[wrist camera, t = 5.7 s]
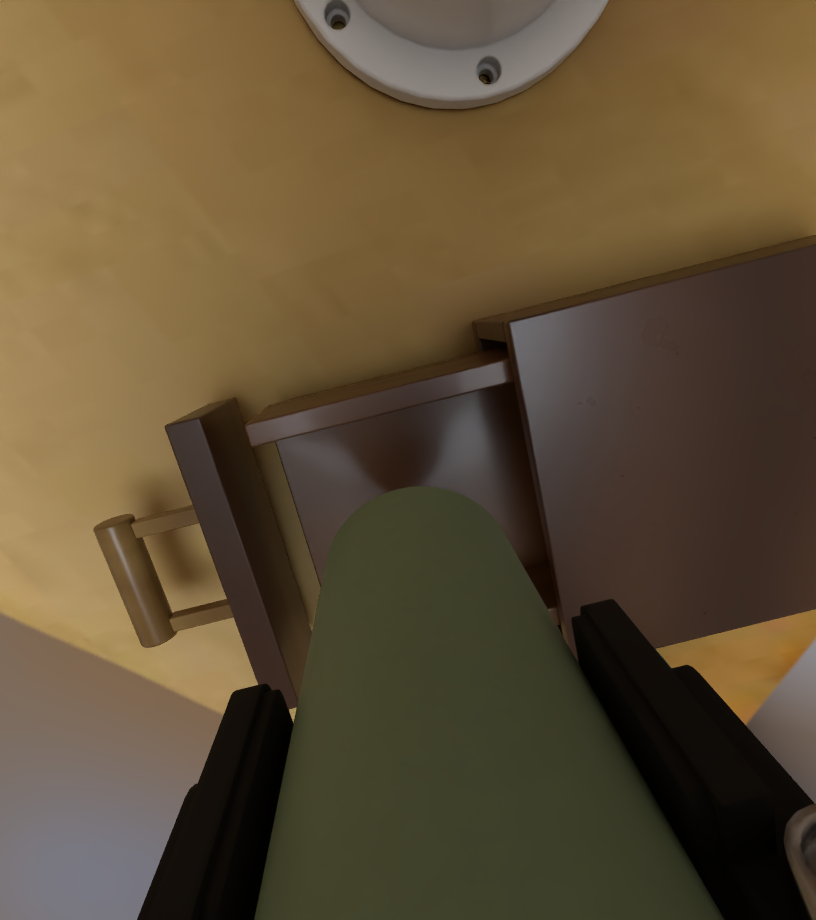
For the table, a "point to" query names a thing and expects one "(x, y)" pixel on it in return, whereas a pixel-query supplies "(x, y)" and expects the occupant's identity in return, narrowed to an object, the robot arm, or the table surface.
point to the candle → (457, 746)
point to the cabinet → (675, 441)
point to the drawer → (328, 494)
